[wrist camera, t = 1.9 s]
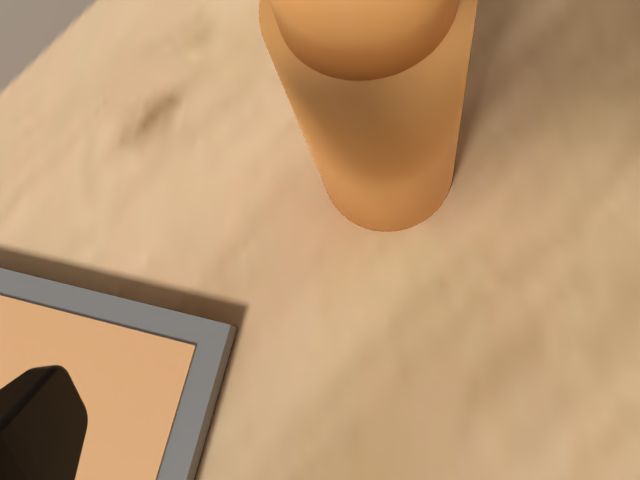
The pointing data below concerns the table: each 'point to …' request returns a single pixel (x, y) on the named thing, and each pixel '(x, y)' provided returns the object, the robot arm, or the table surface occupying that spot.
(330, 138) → the peach capped bottle
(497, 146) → the table surface
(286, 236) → the table surface
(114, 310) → the pad
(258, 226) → the table surface
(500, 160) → the table surface
